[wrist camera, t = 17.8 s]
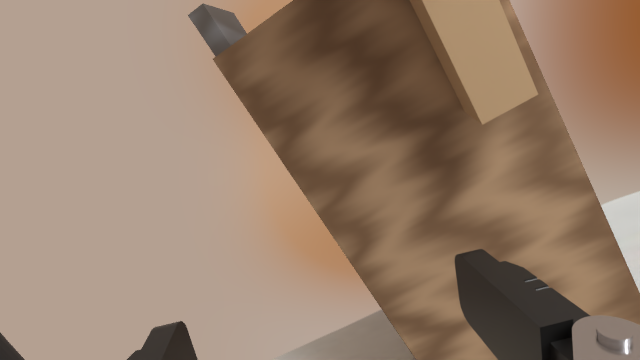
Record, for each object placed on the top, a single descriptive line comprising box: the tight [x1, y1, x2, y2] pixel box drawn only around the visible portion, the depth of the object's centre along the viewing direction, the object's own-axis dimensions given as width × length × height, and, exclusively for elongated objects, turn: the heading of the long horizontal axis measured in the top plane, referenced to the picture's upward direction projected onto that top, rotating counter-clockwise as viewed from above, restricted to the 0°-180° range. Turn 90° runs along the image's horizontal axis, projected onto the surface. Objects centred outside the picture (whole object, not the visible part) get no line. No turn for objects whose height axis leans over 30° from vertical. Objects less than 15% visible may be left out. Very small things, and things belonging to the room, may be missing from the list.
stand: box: [188, 0, 640, 360], centre depth 27 cm, size 16×7×35 cm, turn 84°
